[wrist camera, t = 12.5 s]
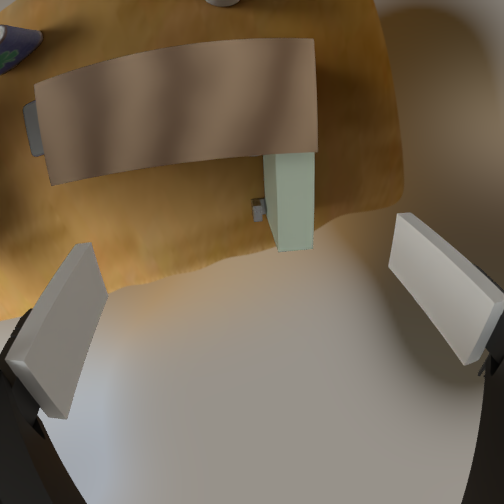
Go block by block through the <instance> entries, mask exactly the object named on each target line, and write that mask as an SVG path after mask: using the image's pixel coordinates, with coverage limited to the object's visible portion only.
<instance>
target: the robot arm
mask: <svg viewBox="0 0 504 504" xmlns="http://www.w3.org/2000/svg"><path fill="white" fill-rule="evenodd" d="M388 267H389V268H390V269H391V271H392V272H393V273H394V274H395V275H396V277H397V278H398V279H399V280H400V281H401V283H402V284H403V285H404V286H405V288H406V289H407V290H408V291H409V293H410V294H411V295H412V296H413V297H414V299H415V300H416V301H417V302H418V304H419V305H420V306H421V308H422V309H423V310H424V311H425V313H426V314H427V315H428V317H429V318H430V319H431V321H432V322H433V323H434V325H435V326H436V327H437V329H438V330H439V331H440V333H441V334H442V336H443V337H444V338H445V340H446V341H447V342H448V344H449V345H450V347H451V348H452V349H453V351H454V352H455V353H456V355H457V356H458V358H459V359H460V361H461V362H462V364H463V365H467V364H470V363H472V362H475V361H477V360H479V358H480V356H481V354H482V353H483V351H484V349H485V348H486V349H487V350H488V351H489V355H488V357H487V359H486V360H485V362H484V364H483V365H482V367H481V369H480V371H479V373H478V376H480V375H481V374H482V372H483V371H484V370H485V375H484V377H485V383H484V394H483V403H482V411H481V418H480V425H479V432H478V437H477V442H476V448H475V453H474V457H473V462H472V466H471V470H470V474H469V478H468V483H467V486H466V490H465V493H464V496H463V500H462V503H461V504H504V290H503V289H502V288H501V287H500V286H499V285H498V284H496V282H493V280H492V279H491V278H490V277H489V276H487V274H486V273H485V272H484V271H483V270H482V269H480V268H479V267H478V266H476V265H474V264H473V263H471V262H470V261H469V260H467V259H466V258H465V257H464V256H463V255H462V254H461V253H459V252H458V251H457V250H456V249H455V248H453V246H451V245H450V244H449V243H448V242H447V241H445V240H444V239H443V238H442V237H441V236H439V235H438V234H437V233H436V232H435V231H433V230H432V229H431V228H430V227H428V226H427V225H426V224H425V223H423V222H422V221H421V220H420V219H418V218H417V217H416V216H415V215H413V214H412V213H397V217H396V224H395V231H394V237H393V243H392V249H391V255H390V260H389V265H388ZM107 298H108V294H107V291H106V288H105V285H104V282H103V279H102V276H101V273H100V270H99V267H98V263H97V260H96V257H95V254H94V250H93V247H92V244H91V242H89V243H82V244H76V245H75V246H74V247H73V249H72V250H71V252H70V253H69V254H68V256H67V257H66V259H65V260H64V262H63V263H62V264H61V266H60V267H59V269H58V270H57V272H56V273H55V275H54V276H53V278H52V279H51V281H50V282H49V284H48V285H47V287H46V288H45V290H44V292H43V293H42V295H41V296H40V298H39V300H38V301H37V303H36V304H35V306H34V308H33V309H29V310H28V311H27V312H26V313H25V314H24V315H23V316H22V317H21V318H20V320H19V322H18V323H17V325H16V327H15V330H13V332H12V334H11V338H9V339H8V341H7V343H6V344H5V346H4V348H3V350H2V352H1V354H0V504H87V503H86V502H85V500H84V498H83V497H82V495H81V494H80V492H79V491H78V489H77V487H76V486H75V484H74V482H73V481H72V479H71V477H70V476H69V474H68V472H67V470H66V468H65V467H64V465H63V463H62V461H61V460H60V458H59V456H58V454H57V452H56V450H55V448H54V446H53V444H52V442H51V440H50V438H49V436H48V434H47V431H46V429H45V427H44V425H43V423H42V421H41V420H40V418H39V417H38V416H37V414H38V411H39V408H41V409H42V410H43V411H44V412H45V414H46V415H47V416H48V417H51V418H58V419H67V418H68V414H69V411H70V407H71V404H72V400H73V397H74V393H75V390H76V387H77V383H78V380H79V377H80V374H81V370H82V367H83V364H84V361H85V358H86V355H87V352H88V349H89V347H90V343H91V341H92V338H93V335H94V332H95V330H96V327H97V324H98V322H99V319H100V316H101V314H102V311H103V309H104V306H105V303H106V301H107Z"/></svg>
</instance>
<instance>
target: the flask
mask: <svg viewBox="0 0 504 504" xmlns="http://www.w3.org/2000/svg"><path fill="white" fill-rule="evenodd" d="M42 40H43V35H42V33H41V32H40V31H37V30H30V29H24V28H17V27H12V26H8V25H0V75H1V74H4V73H6V72H7V71H9V70H11V69H12V68H14V67H16V65H18V64H19V63H20V62H21V61H22V60H24V59H25V58H26V57H27V56H29V54H31V53H32V52H33V51H34V50H35V49H36V48H37V47H38V46H39V45H40V44H41V42H42Z"/></svg>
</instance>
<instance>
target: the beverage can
mask: <svg viewBox="0 0 504 504" xmlns="http://www.w3.org/2000/svg"><path fill="white" fill-rule="evenodd" d="M206 1H207V2H208V3H210V4H211V5H215V6H222V7H223V6H231V5H234V4H235V3H237V2H238V1H240V0H206Z"/></svg>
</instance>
